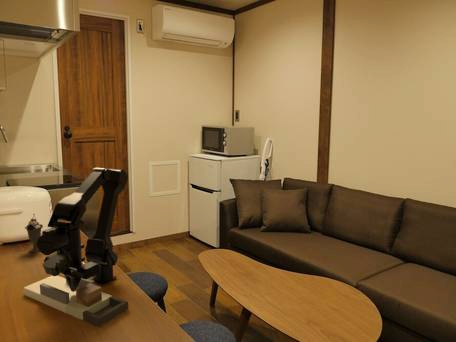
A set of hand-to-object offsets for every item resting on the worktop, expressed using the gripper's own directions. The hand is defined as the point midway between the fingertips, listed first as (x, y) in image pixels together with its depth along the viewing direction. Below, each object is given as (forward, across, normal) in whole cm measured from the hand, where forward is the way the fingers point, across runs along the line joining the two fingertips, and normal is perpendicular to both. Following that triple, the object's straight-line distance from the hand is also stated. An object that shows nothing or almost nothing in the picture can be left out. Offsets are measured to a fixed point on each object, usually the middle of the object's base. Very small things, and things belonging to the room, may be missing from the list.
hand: (73, 291), depth 119 cm
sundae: (+4, -47, +20) cm, 51 cm away
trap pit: (+3, +14, 0) cm, 15 cm away
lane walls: (+1, -3, 0) cm, 3 cm away
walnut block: (+1, +8, -1) cm, 8 cm away
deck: (+3, -4, 0) cm, 5 cm away
